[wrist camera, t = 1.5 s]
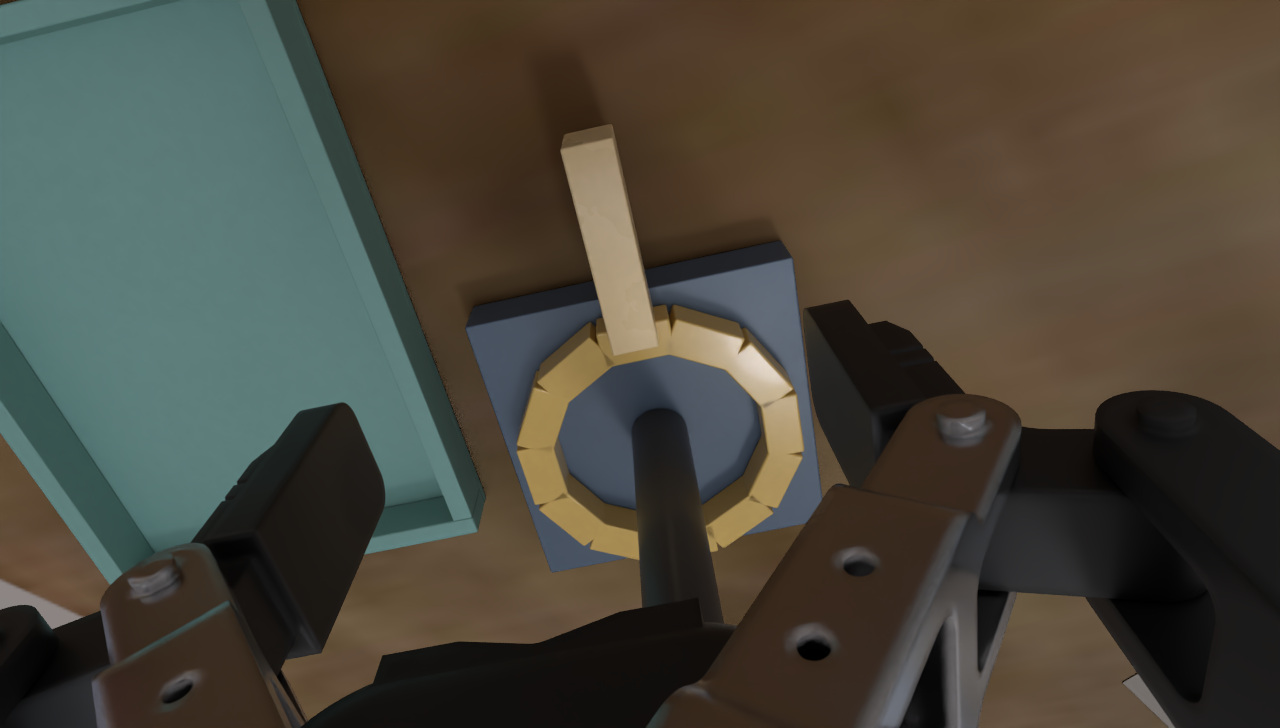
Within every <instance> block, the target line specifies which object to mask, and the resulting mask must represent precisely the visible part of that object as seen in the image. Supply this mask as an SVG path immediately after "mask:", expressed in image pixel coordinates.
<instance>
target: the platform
mask: <svg viewBox="0 0 1280 728" xmlns="http://www.w3.org/2000/svg"><path fill="white" fill-rule="evenodd" d="M1123 683H1124V684H1125V685H1126V686H1127V687H1128V688H1129V689H1130V690H1131V691H1132V692H1133V693H1134V694H1135V695H1136V696H1137V697H1138V698H1139V699H1140V700H1141V701H1142V702H1143V703H1144V704H1145V705H1146V706H1147V707H1149V708H1150V709H1151V710H1152V711H1153V712H1154V713H1155V714H1156V715H1157V716H1158V717H1159V718H1160V719H1161V720H1162V721H1163V722H1164V723H1165V724H1166V725H1167V726H1168V727H1169V728H1175V727H1174V725H1173V724H1172V722H1171V721H1170V719H1169V718H1168V716H1167V715H1166V714H1165V712H1164V711H1163V709H1162V708H1161V706H1160V705H1159V703H1158V702H1157V701H1156V699H1155V698H1154V696H1153V695H1152V693H1151V692H1150V690H1149V689H1148V688H1147V686H1146V685H1145V683H1144V682H1143V680H1142V679H1141V677H1140V676H1139V675H1138V674H1137V675H1135V676H1133V677H1131V678H1130V679H1128V680H1126V681H1125V682H1123Z"/></svg>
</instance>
